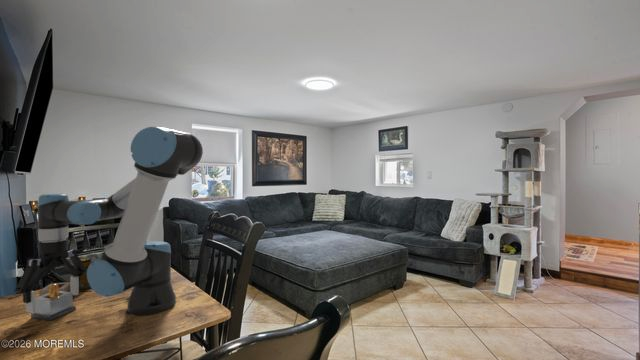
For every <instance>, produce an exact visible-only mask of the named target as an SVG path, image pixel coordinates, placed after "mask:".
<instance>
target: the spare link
mask: <svg viewBox="0 0 640 360" xmlns="http://www.w3.org/2000/svg"><path fill="white" fill-rule="evenodd" d="M52 284H57V285H58V286H59V291H65V292H70V281H67V282H56V283H49V284H48V285H46V286H45V287H43V288H42V289H39V296H42V295H45V294H48V293H49V287H50V286H51V285H52ZM39 296H38V297H39Z"/></svg>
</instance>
